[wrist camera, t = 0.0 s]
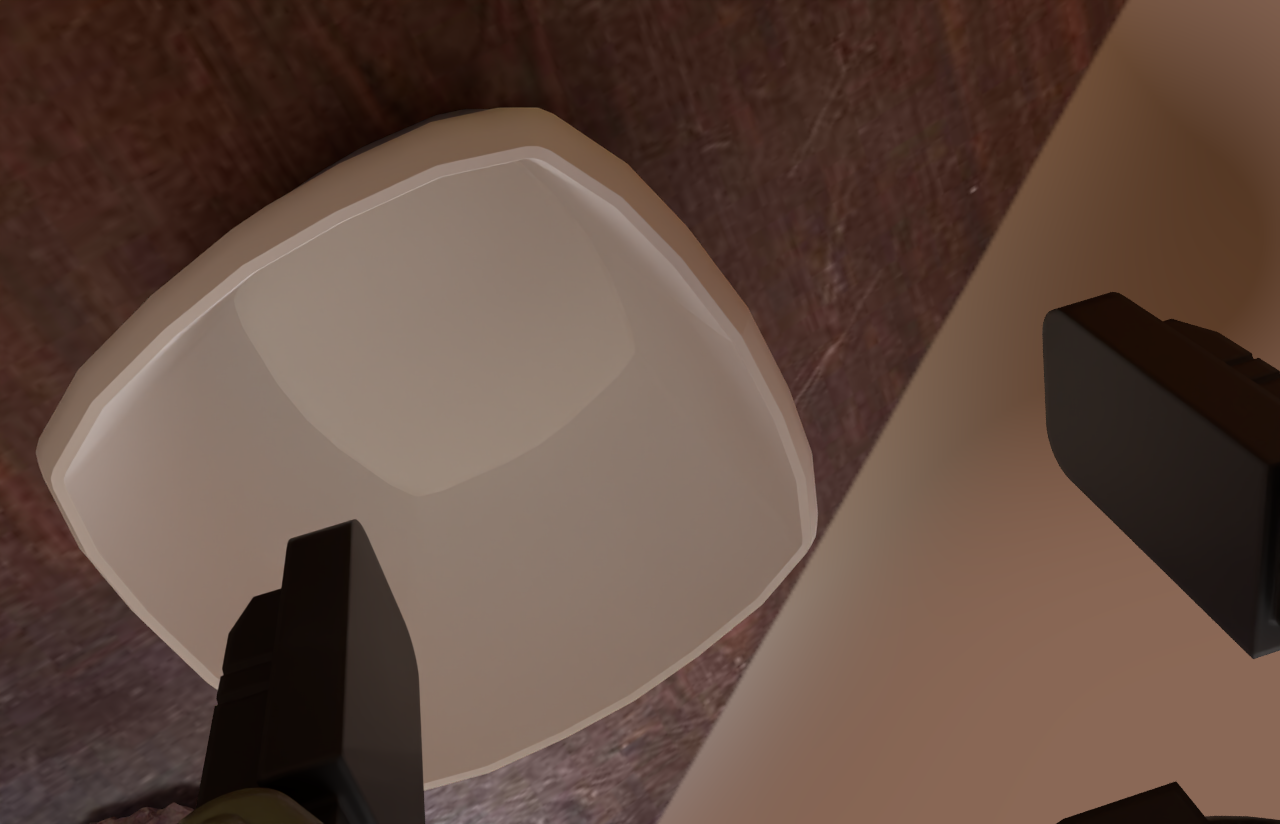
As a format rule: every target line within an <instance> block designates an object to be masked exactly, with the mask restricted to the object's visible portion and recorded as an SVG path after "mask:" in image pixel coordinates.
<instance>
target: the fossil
mask: <svg viewBox="0 0 1280 824" xmlns="http://www.w3.org/2000/svg"><path fill="white" fill-rule="evenodd" d="M193 810H194V809H192V808H189V807H185V806H181V805H178V804H176V803H172V804H170V805H169V806H167V807H166V808H164V809H156V808H150V807H144V808H141V809H140V810H138V811H137V812H135V813H134V814H132V815H131V816H130V817H125V818H123V817H120V818H116V817H111V818H108V819H105V820H103V821H100V822H95V823H90V824H177V823H178V822H179V821H180V820H181V819H183V818H184V817H185V816H187V815H188V814H189V813H191V812H192V811H193Z"/></svg>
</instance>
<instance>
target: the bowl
mask: <svg viewBox="0 0 1280 824" xmlns="http://www.w3.org/2000/svg"><path fill="white" fill-rule="evenodd" d="M36 456H37V460H38V464H39V467H40V470H41V473H42V476H43V478H44V480H45V482H46V484H47V486H48V488H49V490H50V492H51V494H52V496H53V498H54V500H55V502H56V504H57V506H58V508H59V510H60V511H61V513H62V515H63V517H64V519H65V521H66V523H67V525H68V527H69V529H70V531H71V533H72V535H73V537H74V539H75V541H76V542H77V544H78V546H79V548H80V549H81V551H82V552H83V553H84V554H85V555H86V556H87V558H88V559H89V560H90V561H91V562H92V564H93V565H94V566H95V567H96V568H97V570H98V571H99V572H100V573H101V574H102V576H103V577H104V578H105V579H106V580H107V582H108V583H109V584H110V585H111V586H112V588H113V589H114V590H115V591H116V592H117V594H118V595H119V596H120V597H121V598H122V600H123V601H124V602H125V603H126V604H127V606H128V607H129V608H130V609H131V610H132V611H133V612H134V613H135V614H136V615H137V616H138V617H139V618H140V619H141V620H142V621H143V622H144V623H145V624H146V625H147V626H149V627H150V628H151V629H152V630H153V631H154V632H155V633H156V634H157V635H158V636H159V637H160V638H161V639H162V640H163V641H164V642H165V643H166V644H167V645H168V646H169V647H170V648H171V649H172V650H174V651H175V652H176V653H177V654H178V655H179V656H180V657H181V658H182V659H183V660H184V661H185V662H186V663H187V664H188V665H189V666H190V667H191V668H192V669H193V670H194V671H195V672H196V673H197V674H199V675H200V676H201V677H202V678H203V679H204V680H205V681H206V682H207V683H208V684H210V685H211V686H213V687H214V688H215V689H217V690H218V687H219V682H220V676H223V671H222V666H223V660H224V655H225V650H226V644H227V639H228V634H229V632H230V631H231V629H232V628H233V626H234V625H235V623H236V622H237V620H238V619H239V617H240V616H241V614H242V613H243V611H244V610H245V608H246V607H247V605H248V604H249V602H250V601H251V599H252V598H253V597H254V596H258V595H261V594H264V593H268V592H271V591H274V590H277V589H281V587H282V579H283V571H284V564H285V556H286V548H287V543H288V541H289V539H291V538H293V537H297V536H300V535H303V534H307V533H310V532H313V531H317V530H320V529H323V528H326V527H330V526H333V525H336V524H340V523H343V522H346V521H350V520H353V519H356V520H358V521H359V522H360V524H361V525H362V527H363V528H364V530H365V532H366V534H367V536H368V538H369V541H370V543H371V545H372V548H373V550H374V552H375V554H376V557H377V559H378V561H379V564H380V566H381V568H382V570H383V573H384V575H385V577H386V580H387V582H388V584H389V587H390V589H391V591H392V593H393V596H394V598H395V600H396V603H397V605H398V607H399V609H400V612H401V614H402V616H403V619H404V621H405V623H406V626H407V629H408V631H409V634H410V638H411V641H412V644H413V648H414V652H415V656H416V661H417V666H418V673H419V689H420V713H421V737H422V761H423V785H424V791H425V790H429V789H432V788H436V787H439V786H443V785H447V784H450V783H454V782H458V781H461V780H465V779H469V778H472V777H476V776H479V775H483V774H487V773H490V772H492V771H494V770H496V769H499V768H501V767H503V766H505V765H507V764H510V763H512V762H514V761H516V760H518V759H521V758H523V757H525V756H527V755H529V754H532V753H534V752H536V751H538V750H540V749H543V748H545V747H547V746H549V745H551V744H554V743H556V742H558V741H560V740H562V739H565V738H566V737H568V736H570V735H572V734H574V733H576V732H578V731H579V730H581V729H583V728H585V727H587V726H589V725H591V724H592V723H594V722H596V721H598V720H600V719H602V718H603V717H605V716H607V715H609V714H611V713H613V712H615V711H616V710H618V709H620V708H622V707H624V706H626V705H628V704H629V703H631V702H633V701H635V700H636V699H638V698H639V697H640V696H642V695H643V694H645V693H646V692H648V691H649V690H651V689H652V688H653V687H655V686H656V685H658V684H659V683H661V682H662V681H663V680H665V679H666V678H668V677H669V676H671V675H672V674H674V673H675V672H676V671H678V670H679V669H681V668H682V667H684V666H685V665H686V664H688V663H689V662H691V661H692V660H694V659H695V658H696V657H698V656H699V655H700V654H702V653H703V652H704V651H705V650H707V649H708V648H709V647H710V646H711V645H713V644H714V643H715V642H716V641H718V640H719V639H720V638H721V637H723V636H724V635H725V634H726V633H728V632H729V631H730V630H731V629H732V628H734V627H735V626H736V625H737V624H739V623H740V622H741V621H742V620H744V619H745V618H746V617H747V616H749V615H750V614H751V613H752V612H753V611H755V610H756V609H757V608H758V607H760V606H761V605H762V604H763V603H764V602H765V601H766V600H767V598H768V597H769V596H770V595H771V594H772V593H773V591H774V590H775V589H776V588H777V587H778V586H779V584H780V583H781V582H782V581H783V580H784V579H785V578H786V576H787V575H788V574H789V573H790V572H791V571H792V569H793V568H794V567H795V566H796V565H797V564H798V562H799V561H800V560H801V559H802V558H803V557H804V555H805V554H806V553H807V551H808V550H809V548H810V546H811V545H812V543H813V541H814V539H815V537H816V529H817V519H818V509H817V499H816V489H815V479H814V468H813V458H812V452H811V449H810V446H809V443H808V440H807V438H806V435H805V432H804V429H803V426H802V423H801V421H800V418H799V415H798V412H797V409H796V407H795V404H794V401H793V398H792V395H791V392H790V390H789V388H788V386H787V384H786V382H785V380H784V378H783V376H782V374H781V372H780V370H779V368H778V366H777V364H776V362H775V360H774V358H773V356H772V354H771V352H770V350H769V348H768V346H767V344H766V342H765V340H764V338H763V336H762V334H761V332H760V330H759V328H758V326H757V325H756V323H755V321H754V319H753V317H752V315H751V313H750V311H749V309H748V307H747V306H746V304H745V303H744V302H743V300H742V299H741V298H740V296H739V295H738V294H737V292H736V291H735V290H734V288H733V287H732V286H731V284H730V283H729V282H728V280H727V279H726V278H725V276H724V275H723V274H722V272H721V271H720V270H719V268H718V267H717V266H716V264H715V263H714V262H713V260H712V259H711V258H710V256H709V255H708V254H707V252H706V251H705V250H704V248H703V247H702V246H701V244H700V243H699V242H698V240H697V239H696V238H695V236H694V235H693V234H692V232H691V231H690V230H689V228H688V227H687V226H686V225H685V224H684V223H683V222H682V221H681V220H680V219H679V217H678V216H677V215H676V214H675V213H674V212H673V211H672V210H671V209H670V208H669V207H668V206H667V205H666V204H665V203H664V202H663V201H662V200H661V199H660V197H659V196H658V195H657V194H656V193H655V192H654V191H653V190H652V189H651V188H650V187H649V186H648V185H647V184H646V183H645V182H644V181H643V180H642V179H641V178H640V176H639V175H638V174H637V173H636V172H635V171H634V170H633V169H632V168H631V167H630V166H629V165H628V164H627V163H626V162H624V161H623V160H621V159H620V158H618V157H617V156H615V155H614V154H612V153H611V152H609V151H608V150H606V149H605V148H603V147H602V146H600V145H599V144H597V143H596V142H594V141H593V140H591V139H590V138H589V137H587V136H586V135H584V134H583V133H581V132H580V131H578V130H577V129H575V128H574V127H572V126H571V125H569V124H568V123H566V122H565V121H563V120H562V119H560V118H559V117H557V116H556V115H555V114H553V113H550V112H548V111H545V110H543V109H540V108H523V107H511V108H494V109H462V110H458V111H453V112H448V113H443V114H439V115H435V116H432V117H430V118H428V119H425V120H423V121H421V122H419V123H416V124H414V125H412V126H409V127H407V128H405V129H402V130H400V131H398V132H395V133H393V134H391V135H389V136H386V137H384V138H382V139H379V140H377V141H375V142H372V143H370V144H368V145H366V146H363V147H361V148H360V149H358V150H356V151H354V152H353V153H351V154H349V155H347V156H346V157H344V158H342V159H341V160H339V161H337V162H335V163H334V164H332V165H330V166H329V167H327V168H325V169H323V170H322V171H320V172H319V173H317V174H316V175H314V176H313V177H311V178H310V179H308V180H307V181H305V182H304V183H303V184H301V185H300V186H298V187H297V188H295V189H294V190H292V191H291V192H289V193H288V194H286V195H284V196H282V197H281V198H279V199H277V200H276V201H274V202H272V203H270V204H269V205H267V206H265V207H264V208H262V209H261V210H259V211H258V212H257V213H255V214H254V215H252V216H251V217H249V218H248V219H246V220H245V221H243V222H242V223H240V224H239V225H237V226H236V227H234V228H233V229H231V230H230V231H229V232H228V233H226V234H225V235H224V236H223V237H222V238H220V239H219V240H218V241H217V242H216V243H214V244H213V245H212V246H211V247H210V248H208V249H207V250H206V251H205V252H203V253H202V254H201V255H200V256H199V257H197V258H196V259H195V260H194V261H193V262H191V263H190V264H189V265H188V266H186V267H185V268H184V269H183V270H182V271H180V272H179V273H178V274H177V275H176V276H174V277H173V278H172V279H171V280H169V281H168V282H167V283H166V284H165V285H163V286H162V287H161V288H160V289H159V290H157V291H156V292H155V293H154V294H153V295H151V296H150V297H149V298H148V299H147V300H146V301H145V302H144V303H143V304H142V305H141V307H140V308H139V309H138V310H137V311H136V312H135V313H134V314H133V315H132V316H131V317H130V318H129V319H128V320H127V321H126V322H125V323H124V324H123V325H122V326H121V327H120V328H119V329H118V330H117V331H116V332H115V333H114V334H113V335H112V336H111V337H110V338H109V339H108V340H107V341H106V342H105V343H104V344H103V345H102V346H101V347H100V348H99V349H98V350H97V351H96V352H95V353H94V354H93V355H92V356H91V357H90V358H89V359H88V360H87V361H86V362H85V363H84V364H83V365H82V366H81V367H80V368H79V369H78V371H77V373H76V374H75V376H74V378H73V380H72V381H71V383H70V385H69V387H68V388H67V390H66V392H65V394H64V395H63V397H62V399H61V401H60V403H59V404H58V406H57V408H56V410H55V411H54V413H53V415H52V417H51V418H50V420H49V422H48V424H47V425H46V427H45V429H44V431H43V433H42V434H41V436H40V438H39V441H38V445H37V448H36Z"/></svg>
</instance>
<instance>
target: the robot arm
mask: <svg viewBox="0 0 1280 824" xmlns="http://www.w3.org/2000/svg"><path fill="white" fill-rule="evenodd" d="M1042 335H1043V358H1044V382H1045V404H1046V426H1047V433H1048V438H1049V441H1050V445H1051V448H1052V451H1053V453H1054V456H1055V458H1056V460H1057V462H1058V464H1059V466H1060V467H1061V469H1062V470H1063V472H1064V473H1065V475H1066V476H1067V477H1068V478H1069V479H1070V480H1071V481H1072V482H1073V483H1074V484H1075V485H1076V486H1077V487H1078V488H1079V489H1080V490H1081V491H1082V492H1083V493H1084V494H1085V495H1086V496H1087V497H1088V498H1089V499H1090V500H1091V501H1092V502H1093V503H1094V504H1095V505H1096V506H1097V507H1098V508H1100V509H1101V510H1102V511H1103V512H1104V513H1105V514H1106V515H1107V516H1108V517H1109V518H1110V519H1111V520H1112V521H1113V522H1114V523H1115V524H1116V525H1117V526H1118V527H1119V528H1120V529H1121V530H1122V531H1123V532H1124V533H1125V534H1126V535H1127V536H1128V537H1129V538H1130V539H1131V540H1132V541H1133V542H1134V543H1135V544H1136V545H1137V546H1138V547H1139V548H1140V549H1141V550H1143V552H1144V553H1145V554H1146V555H1147V556H1148V557H1150V558H1151V559H1152V560H1153V561H1154V562H1155V563H1156V564H1157V565H1158V566H1159V567H1160V568H1161V569H1162V570H1163V571H1164V572H1165V573H1166V574H1167V575H1168V576H1169V577H1170V578H1171V579H1172V580H1173V581H1174V582H1175V583H1176V584H1177V585H1178V586H1179V587H1180V588H1181V589H1182V590H1183V591H1184V592H1185V593H1186V594H1187V595H1189V597H1190V598H1191V599H1192V600H1194V602H1195V603H1196V604H1197V605H1198V606H1200V607H1201V608H1202V609H1203V610H1204V611H1205V612H1206V613H1207V614H1208V615H1209V616H1210V617H1211V618H1212V619H1213V620H1214V621H1215V622H1216V623H1217V624H1218V625H1219V626H1220V627H1221V628H1222V629H1223V630H1224V631H1225V632H1226V633H1227V634H1228V635H1229V636H1230V637H1231V638H1232V639H1233V640H1234V641H1235V642H1236V643H1237V644H1238V645H1239V646H1240V647H1241V648H1242V649H1243V650H1244V651H1246V653H1248V654H1249V655H1250V656H1251V657H1252V658H1253V659H1255V658H1258V657H1261V656H1264V655H1267V654H1270V653H1273V652H1276V651H1279V650H1280V371H1279V370H1277V369H1276V368H1274V367H1272V366H1271V365H1269V364H1267V363H1266V362H1264V361H1263V360H1261V359H1260V358H1257V359H1253V357H1252V353H1250V352H1249V351H1247V350H1245V349H1244V348H1242V347H1241V346H1239V345H1237V344H1236V343H1234V342H1233V341H1231V340H1230V339H1228V338H1226V337H1225V336H1223V335H1222V334H1220V333H1218V332H1215V331H1212V330H1208V329H1205V328H1201V327H1198V326H1195V325H1191V324H1188V323H1184V322H1181V321H1177V320H1174V319H1169V320H1166V321H1161V320H1160V319H1158V318H1157V317H1155V316H1154V315H1152V314H1151V313H1149V312H1148V311H1146V310H1145V309H1143V308H1141V307H1140V306H1138V305H1137V304H1135V303H1134V302H1132V301H1131V300H1129V299H1128V298H1126V297H1125V296H1123V295H1121V294H1120V293H1116V292H1110V293H1107V294H1104V295H1100V296H1097V297H1094V298H1090V299H1087V300H1084V301H1081V302H1077V303H1074V304H1071V305H1067V306H1064V307H1061V308H1058V309H1054V310H1051V311H1049V312H1048V313H1047V315H1046V317H1045V319H1044V322H1043V334H1042ZM222 671H223V676H220V682H219V687H218V693H217V698H216V699H217V702H218V705H217V706H215V709H214V714H213V719H212V725H211V730H210V735H209V741H208V746H207V752H206V757H205V762H204V768H203V773H202V778H201V784H200V789H199V794H198V800H197V805H196V809H195V810H193V811H192V812H191V813H189V814H188V815H187V816H185V817H184V818H183V819H181V820H180V821H179V822H178V823H177V824H425V810H424V785H423V761H422V737H421V713H420V689H419V673H418V666H417V661H416V656H415V652H414V648H413V644H412V641H411V638H410V634H409V631H408V629H407V626H406V623H405V621H404V619H403V616H402V614H401V612H400V609H399V607H398V605H397V603H396V600H395V598H394V596H393V593H392V591H391V589H390V587H389V584H388V582H387V580H386V577H385V575H384V573H383V570H382V568H381V566H380V564H379V561H378V559H377V557H376V554H375V552H374V550H373V548H372V545H371V543H370V541H369V538H368V536H367V534H366V532H365V530H364V528H363V527H362V525H361V524H360V522H359V521H358V520H356V519H353V520H350V521H346V522H343V523H340V524H336V525H333V526H330V527H326V528H323V529H320V530H317V531H313V532H310V533H307V534H303V535H300V536H297V537H293V538H291V539H289V541H288V543H287V548H286V556H285V564H284V571H283V579H282V587H281V589H277V590H274V591H271V592H268V593H264V594H261V595H258V596H254V597H253V598H252V599H251V601H250V602H249V604H248V605H247V607H246V608H245V610H244V611H243V613H242V614H241V616H240V617H239V619H238V620H237V622H236V623H235V625H234V626H233V628H232V629H231V631H230V632H229V634H228V639H227V644H226V650H225V655H224V660H223V666H222ZM1057 824H1280V820H1274V819H1266V818H1257V817H1248V816H1243V817H1242V816H1209V817H1205V816H1204V815H1203V814H1202V813H1201V811H1200V810H1199V809H1198V808H1197V806H1196V805H1195V804H1194V803H1193V801H1192V800H1191V799H1190V798H1189V797H1188V795H1187V794H1186V793H1185V792H1184V791H1183V789H1182V788H1181V787H1180V786H1179V784H1178V783H1177V782H1173V783H1170V784H1167V785H1164V786H1161V787H1158V788H1155V789H1152V790H1149V791H1146V792H1143V793H1140V794H1137V795H1134V796H1131V797H1128V798H1125V799H1122V800H1119V801H1116V802H1113V803H1110V804H1107V805H1104V806H1101V807H1098V808H1095V809H1092V810H1089V811H1086V812H1083V813H1080V814H1077V815H1074V816H1071V817H1068V818H1065V819H1063V820H1061V821H1060V822H1058V823H1057Z"/></svg>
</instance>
